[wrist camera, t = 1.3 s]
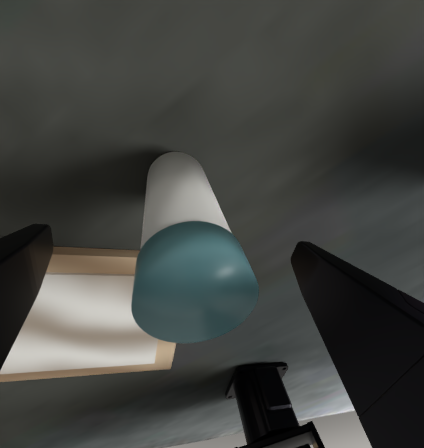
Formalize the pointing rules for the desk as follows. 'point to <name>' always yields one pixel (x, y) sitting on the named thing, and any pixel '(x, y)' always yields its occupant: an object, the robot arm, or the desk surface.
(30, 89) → the desk surface
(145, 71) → the desk surface
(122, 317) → the clipboard
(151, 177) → the marker
